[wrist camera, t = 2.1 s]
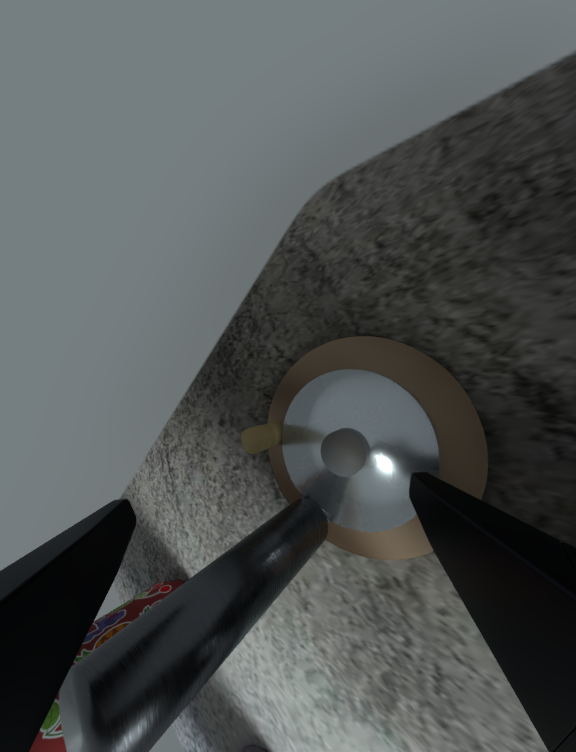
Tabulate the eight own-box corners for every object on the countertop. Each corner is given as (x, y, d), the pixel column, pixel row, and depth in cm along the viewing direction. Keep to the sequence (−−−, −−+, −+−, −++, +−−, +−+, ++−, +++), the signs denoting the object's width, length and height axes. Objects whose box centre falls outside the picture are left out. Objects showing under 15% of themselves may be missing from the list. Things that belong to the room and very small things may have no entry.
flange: (326, 344, 18) (103, 288, 7) (478, 424, 14) (561, 635, 2) (257, 485, 20) (18, 613, 9) (365, 588, 16) (164, 1030, 5)
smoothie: (164, 546, 28) (-304, 814, 11) (224, 602, 24) (-390, 1187, 7) (151, 619, 29) (-294, 968, 12) (207, 684, 25) (-362, 1374, 8)
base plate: (418, 600, 16) (406, 661, 12) (252, 471, 22) (214, 487, 19) (540, 392, 13) (568, 397, 10) (312, 311, 19) (281, 297, 16)
